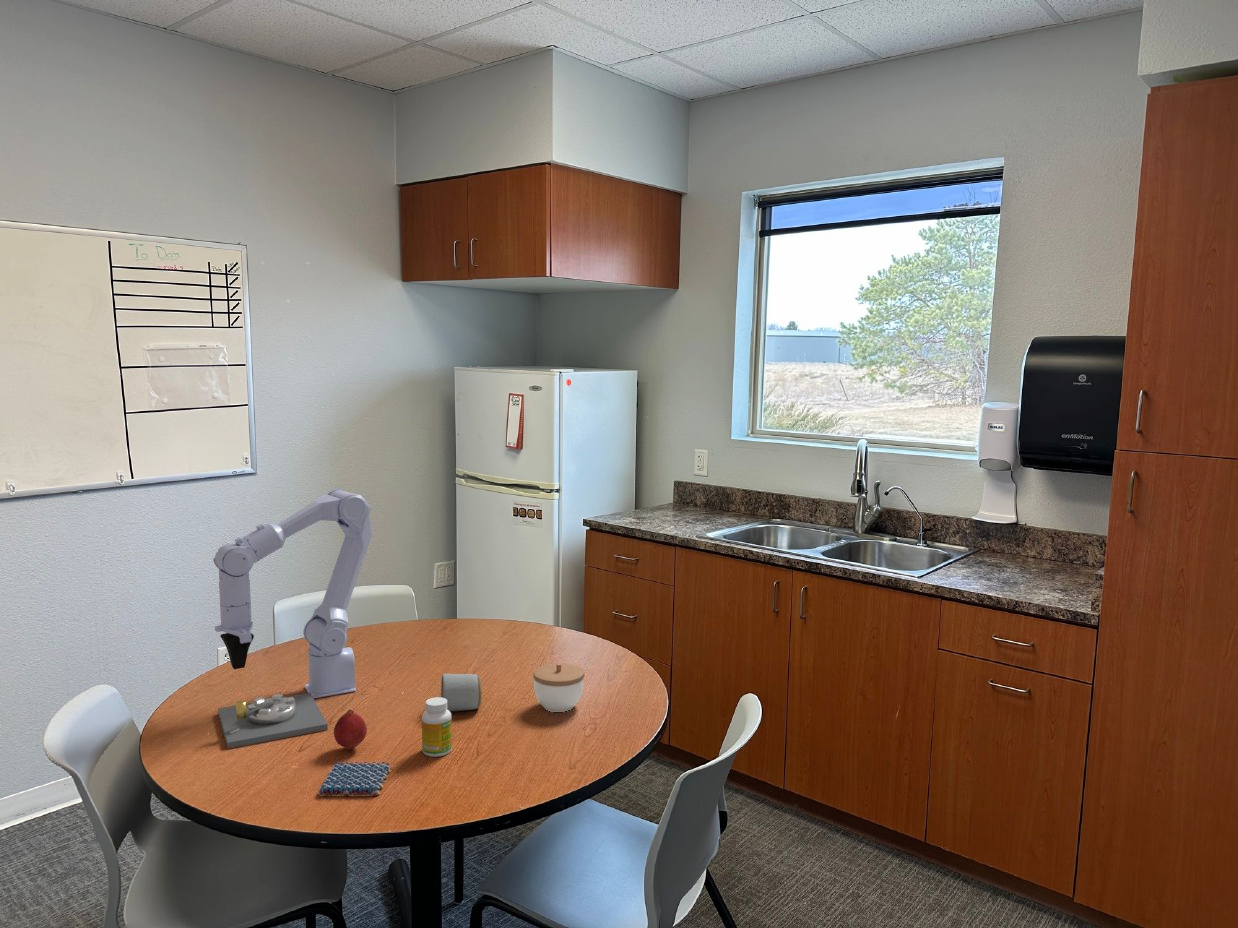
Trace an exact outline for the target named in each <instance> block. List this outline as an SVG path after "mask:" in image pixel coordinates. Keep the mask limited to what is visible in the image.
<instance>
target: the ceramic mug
mask: <svg viewBox="0 0 1238 928" xmlns="http://www.w3.org/2000/svg"><path fill="white" fill-rule="evenodd" d="M440 685H441V686H440V697H441V698H445V699H446V700H447V710H449V711H450V712H459V711H462V712H463V711H472V710H473V711H474V710H476V709H477V710H478V709H479V708H480V707H481V704H482V697H483V695H482V694H483V693H482V692H483V691H482V678H481V676H480V675H478V674H474V673H443V674H442V675H441V683H440Z"/></svg>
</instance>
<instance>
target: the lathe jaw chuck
mask: <svg viewBox="0 0 1238 928" xmlns="http://www.w3.org/2000/svg"><path fill="white" fill-rule="evenodd" d="M285 697H286V696H284V694H283V693H282V694H281V693H279V694H278V693H277V694H276V693H275V694H273V695H272V696H271V697H267V698H264V697H262V696H259V697H256V698H254V699H252V702H251V703H252V704H250V705H247V711H246V704H247V701H246V700H239V701H236V702H235V705H236V716H237V719H245V718H246V717H247V720H248V721H249V722H250V723H252V724H257V725H271V724H277V723H281V722H284V721H287V720H289V719H291V718H292V717H294V716H295V714H296V707H295V700H294V698H293V697H290V698H285Z"/></svg>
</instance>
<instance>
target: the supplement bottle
mask: <svg viewBox="0 0 1238 928" xmlns="http://www.w3.org/2000/svg"><path fill="white" fill-rule="evenodd" d="M424 707H425V711H424V712H423V713H422V715H421V739H422V740H421V741H422V742H421V745H422V746H421V747H422V748H421V750H422V751H421V752H422V753H423V755H425V756H427V757H431V758H432V757H444V756H446V755H448V754H450V752H452V749H453V747H452V746H453V744H452V742H453V741H452V737H453V735H452V732H453V730H452V725H453V724H452V711H449V710H447V700H446V699H445V698H441V696H440V697H438V696H437V697H435V696H434V697H431V698H428V699H427V700H426V701H425V705H424Z"/></svg>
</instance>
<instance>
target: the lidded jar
mask: <svg viewBox="0 0 1238 928" xmlns="http://www.w3.org/2000/svg"><path fill="white" fill-rule="evenodd" d="M532 677H533V688H534V694H535V697H536V700H537V701H538V703H540V705H541V706H542V707H543V708H544V710H545V709H546V711H547V710H548V711H547V712H549V711H550V712H549V713H553V712H563V713H566V712H565V711H567V712H569V711H568V710H570V711H571V709H572V710H573V708H574V707H575V706H576V705H577V704H578V703H579V701H580V699H581V698H582V694H583V690H584V685H585V682H584V679H585V670H584V669H583V668H582V667H580V666H578V665H575V664H572V663H563V662H558V663H557V662H553V663H549V664H544V665H540V666H538V667H537V668H536V669H534V670H533V675H532Z"/></svg>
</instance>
